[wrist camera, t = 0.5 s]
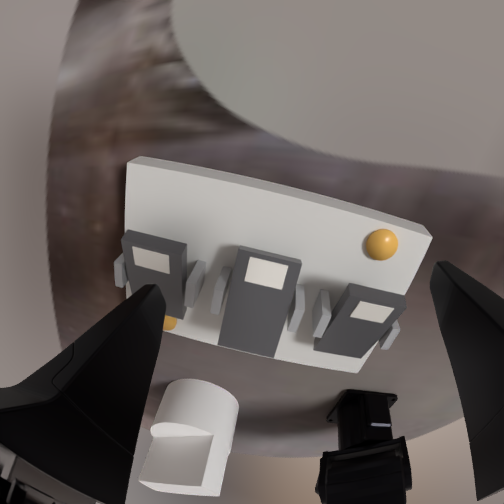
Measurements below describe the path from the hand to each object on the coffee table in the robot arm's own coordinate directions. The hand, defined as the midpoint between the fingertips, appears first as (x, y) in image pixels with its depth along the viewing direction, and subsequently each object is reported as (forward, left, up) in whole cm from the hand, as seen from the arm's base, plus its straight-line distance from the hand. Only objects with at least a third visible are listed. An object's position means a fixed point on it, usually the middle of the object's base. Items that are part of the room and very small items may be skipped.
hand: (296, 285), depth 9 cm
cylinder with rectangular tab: (-28, +3, -13) cm, 31 cm away
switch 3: (-8, -7, -8) cm, 13 cm away
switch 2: (-8, 0, -8) cm, 11 cm away
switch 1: (-8, +7, -8) cm, 14 cm away
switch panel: (-8, 0, -12) cm, 15 cm away
